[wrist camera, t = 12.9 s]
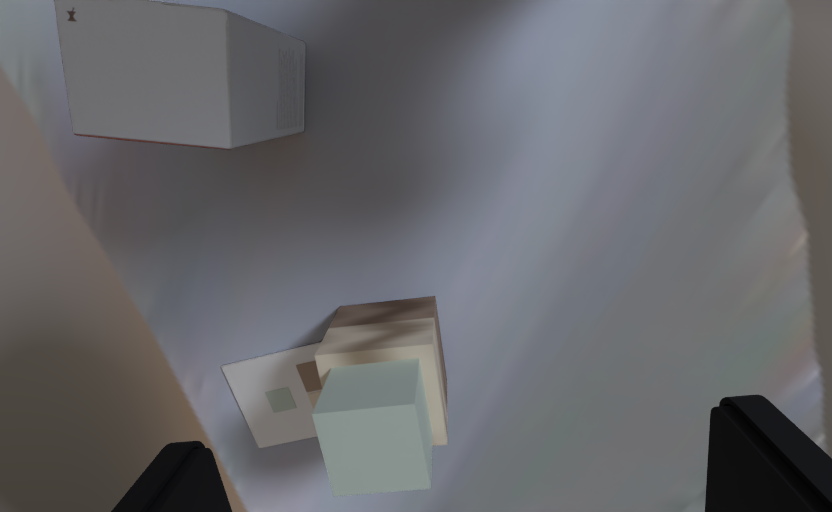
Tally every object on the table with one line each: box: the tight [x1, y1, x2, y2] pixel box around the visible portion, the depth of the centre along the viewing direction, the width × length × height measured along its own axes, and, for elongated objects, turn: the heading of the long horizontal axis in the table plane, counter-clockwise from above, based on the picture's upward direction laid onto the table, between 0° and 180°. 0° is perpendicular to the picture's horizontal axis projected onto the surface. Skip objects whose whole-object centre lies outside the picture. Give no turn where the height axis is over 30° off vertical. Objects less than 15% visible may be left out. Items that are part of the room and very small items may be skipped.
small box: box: [54, 0, 306, 150], centre depth 28 cm, size 8×6×13 cm
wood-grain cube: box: [314, 296, 447, 446], centre depth 36 cm, size 8×8×8 cm
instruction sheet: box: [221, 342, 322, 448], centre depth 42 cm, size 12×9×1 cm
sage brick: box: [312, 358, 433, 497], centre depth 30 cm, size 6×6×5 cm
